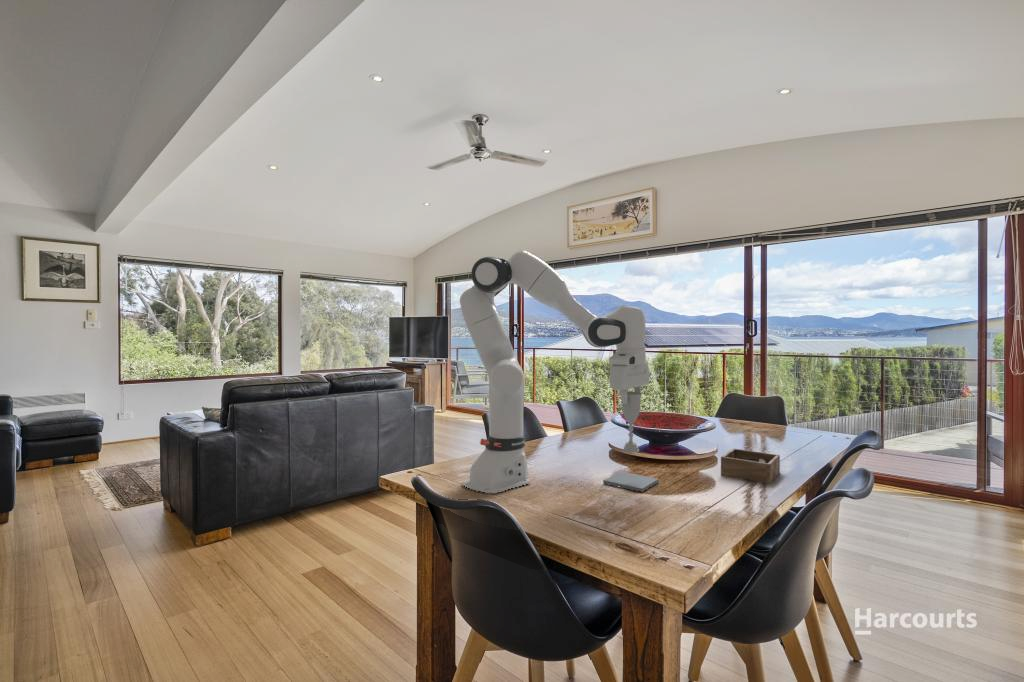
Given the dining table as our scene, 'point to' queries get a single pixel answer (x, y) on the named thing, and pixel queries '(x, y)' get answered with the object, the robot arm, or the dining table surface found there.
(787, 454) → the dining table surface
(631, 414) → the chalice
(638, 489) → the slate board
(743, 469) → the walnut display box
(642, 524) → the dining table surface
